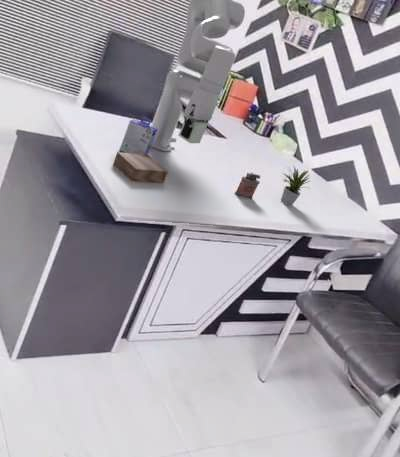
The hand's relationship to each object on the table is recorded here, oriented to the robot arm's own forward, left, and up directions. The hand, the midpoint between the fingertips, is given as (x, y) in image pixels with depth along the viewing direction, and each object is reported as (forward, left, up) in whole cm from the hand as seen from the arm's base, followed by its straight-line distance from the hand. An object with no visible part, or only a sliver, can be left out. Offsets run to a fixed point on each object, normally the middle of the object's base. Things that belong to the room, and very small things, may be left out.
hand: (190, 136), depth 176 cm
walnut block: (+7, -9, -20) cm, 23 cm away
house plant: (-56, +20, -19) cm, 63 cm away
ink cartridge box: (-4, -23, -19) cm, 31 cm away
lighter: (-33, +12, -19) cm, 40 cm away
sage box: (0, 0, -1) cm, 1 cm away
